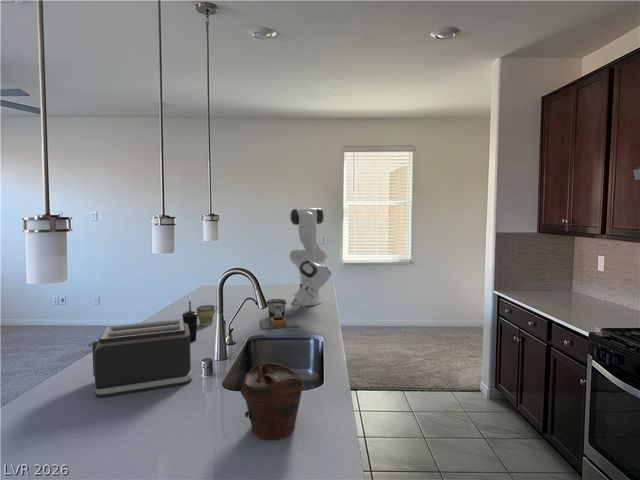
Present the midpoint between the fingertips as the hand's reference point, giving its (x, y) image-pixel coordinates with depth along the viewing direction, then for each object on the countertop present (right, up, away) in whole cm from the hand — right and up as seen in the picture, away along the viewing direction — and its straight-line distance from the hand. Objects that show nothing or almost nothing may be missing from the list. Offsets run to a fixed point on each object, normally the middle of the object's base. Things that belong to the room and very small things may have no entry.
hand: (292, 307), depth 221 cm
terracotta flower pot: (+2, -17, -107) cm, 108 cm away
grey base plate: (-8, -10, -2) cm, 13 cm away
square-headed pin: (-8, -9, -2) cm, 12 cm away
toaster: (-52, -15, -75) cm, 92 cm away
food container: (-11, -9, +17) cm, 22 cm away
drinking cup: (-49, -12, -29) cm, 58 cm away
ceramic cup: (-49, -10, +1) cm, 50 cm away
